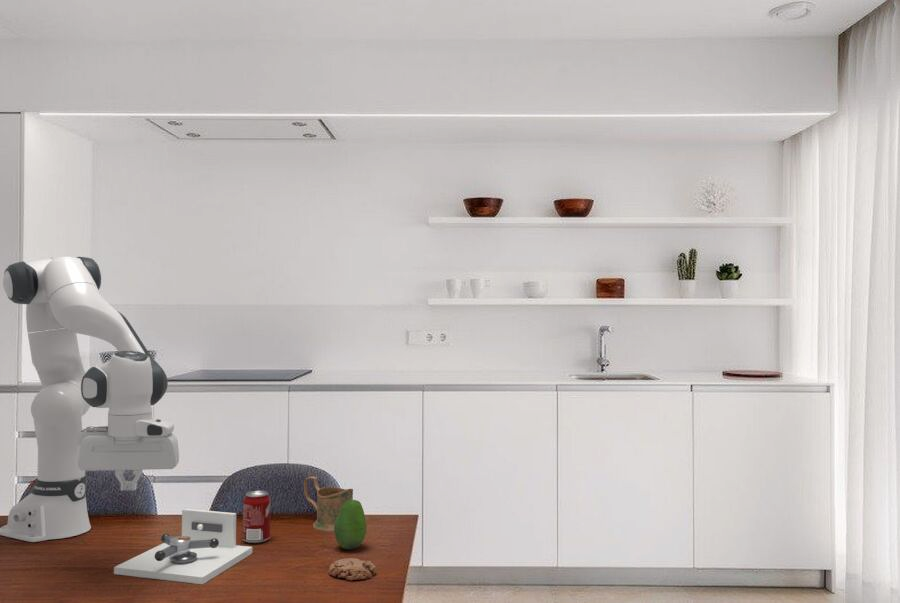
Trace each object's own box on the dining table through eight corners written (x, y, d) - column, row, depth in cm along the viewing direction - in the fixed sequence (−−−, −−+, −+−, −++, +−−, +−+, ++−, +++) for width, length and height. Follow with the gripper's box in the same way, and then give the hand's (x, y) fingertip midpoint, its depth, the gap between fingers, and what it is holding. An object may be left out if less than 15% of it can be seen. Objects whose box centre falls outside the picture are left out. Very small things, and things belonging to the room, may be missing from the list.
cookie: (330, 567, 168) (330, 554, 168) (376, 566, 168) (376, 553, 169) (326, 583, 158) (326, 569, 158) (375, 582, 159) (375, 569, 159)
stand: (113, 574, 161) (114, 530, 161) (172, 544, 181) (173, 506, 181) (202, 584, 155) (203, 539, 156) (252, 553, 176) (253, 513, 176)
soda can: (262, 545, 181) (263, 497, 182) (237, 543, 183) (238, 495, 183) (274, 537, 188) (275, 490, 188) (250, 535, 189) (250, 489, 190)
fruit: (326, 548, 180) (327, 499, 180) (351, 541, 186) (352, 494, 186) (347, 556, 175) (348, 505, 175) (372, 548, 181) (373, 499, 181)
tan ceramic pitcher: (319, 513, 211) (320, 472, 211) (364, 524, 201) (365, 480, 201) (289, 522, 202) (289, 479, 202) (334, 534, 191) (335, 488, 192)
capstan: (126, 568, 160) (127, 545, 160) (164, 549, 172) (164, 528, 172) (186, 574, 156) (187, 551, 156) (220, 555, 169) (220, 533, 169)
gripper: (73, 429, 154) (72, 494, 154) (175, 428, 157) (173, 492, 157) (84, 424, 160) (82, 487, 160) (181, 423, 163) (180, 485, 163)
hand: (128, 490), depth 159 cm, fingers closed
